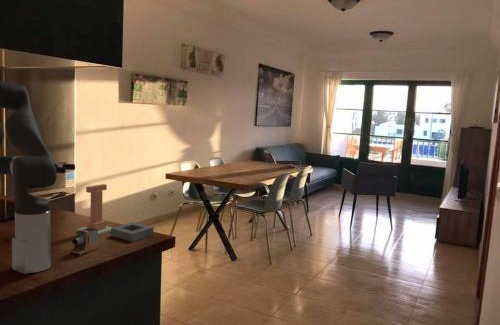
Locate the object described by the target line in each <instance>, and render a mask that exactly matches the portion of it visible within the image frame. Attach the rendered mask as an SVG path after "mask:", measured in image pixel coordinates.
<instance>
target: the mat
mask: <svg viewBox="0 0 500 325" xmlns="http://www.w3.org/2000/svg"><path fill="white" fill-rule="evenodd" d="M111 228H113V227H112V226H107V225H106V229H103V230H99V231H98V237H99V236H103V235H107V234H111ZM82 229H86V226H84V227H80V228H77V229H76V232H77V233H78V231H79V230H82Z"/></svg>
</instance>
